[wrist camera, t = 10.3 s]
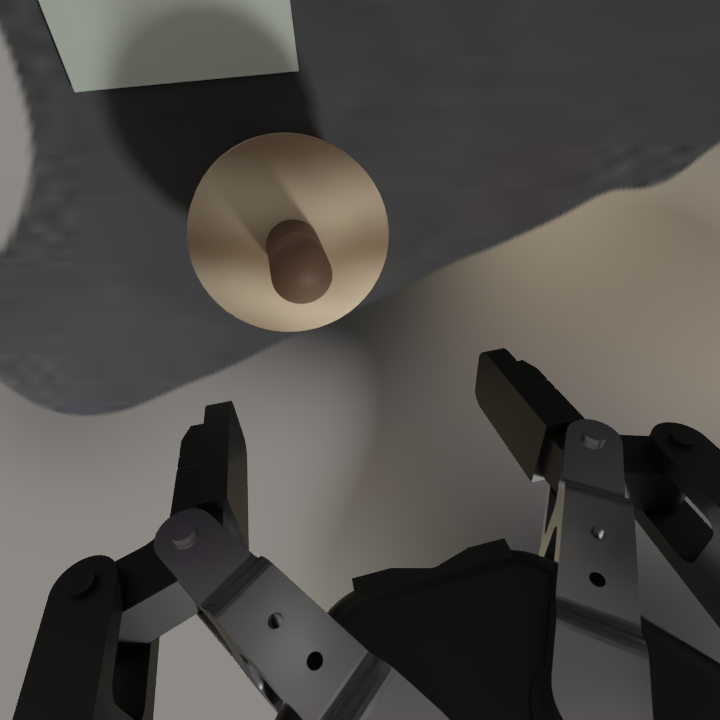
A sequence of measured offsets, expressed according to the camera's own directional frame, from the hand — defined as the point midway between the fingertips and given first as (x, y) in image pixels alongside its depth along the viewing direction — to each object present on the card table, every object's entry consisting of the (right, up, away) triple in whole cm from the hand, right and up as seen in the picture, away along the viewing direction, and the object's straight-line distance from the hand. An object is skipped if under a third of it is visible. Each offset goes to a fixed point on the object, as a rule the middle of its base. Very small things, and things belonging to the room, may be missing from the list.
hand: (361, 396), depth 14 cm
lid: (-4, +9, +13) cm, 16 cm away
